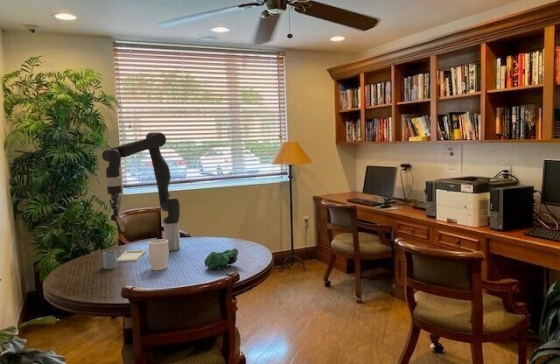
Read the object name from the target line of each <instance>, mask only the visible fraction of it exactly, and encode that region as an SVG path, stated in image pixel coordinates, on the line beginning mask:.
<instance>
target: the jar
mask: <svg viewBox="0 0 560 364" xmlns="http://www.w3.org/2000/svg"><path fill="white" fill-rule="evenodd" d="M167 243H168V240H165V238H163V239H152V240H149V241H147V244H148V248H147V249H148V251H147V252H148V258H149V263H150V265H151V267H150V268H151V270H152V271H162V270H166V269H167V268H168V265H167V264H168V262H169V255H170V253H169V252H170V251H169V249H168V245H167Z"/></svg>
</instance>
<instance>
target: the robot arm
mask: <svg viewBox="0 0 560 364" xmlns="http://www.w3.org/2000/svg"><path fill="white" fill-rule="evenodd" d="M166 142H167V137H166V135H165V134H164V133H163V132H160V131H151V132H148V133H147V134H146V135H145V138H144V139H140V140H136V141H131V142H127V143H125V144H124V143H123V144H121V145H118V146H114V147H110V148H107V149H105V150H104V151H103V152H102V154H101V158H102V160H103V161H105V162H107V163H108V166H107V167H106V168H105V175H106V176H105V177H106V189H107V190H106V192H107V194H108V195H110V199H109V204H110V207H111V208H110V209H111V210H113V209H114V210H113V216H114V217H116V216H118V211H119V214H121V213H120V207H121V202H122V201H121V198H122V196H121V195H119V194H121V193H122V192H123V191H122V190H123V189H122V179H121V174H120V167H121V166H120V165H121V158H127V157H130V156H132V155H135V154H138V153H140V152H144V151H146V150H148V153H149V156H150V160H151V163H152V168H153V169H152V170H153V173H154V177H155V181H156V187H157V191H158V199H159V207H160V209H161V210H162V212H167V216H166V217H164V218H163V235H164V238H163V239H165V240H168V243H167V245H168V249H169V252H170V251H171V250H172V251H179V250H180V249H181V234H180V225H179V224H180V223H179V219H180V215H181V214H180V213H181V212H180V210H181V209H180V207H181V206H180V201H179V199H178V198H177V197H170V193H169V185H170V182H171V172H170V167H169V164H168V163H167V162H166V160H165V157H163V154H162V153H161V150H160V149H161V147H163V146H164V145H165V144H166ZM114 206H115V207H114ZM172 251H171V252H172Z"/></svg>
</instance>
